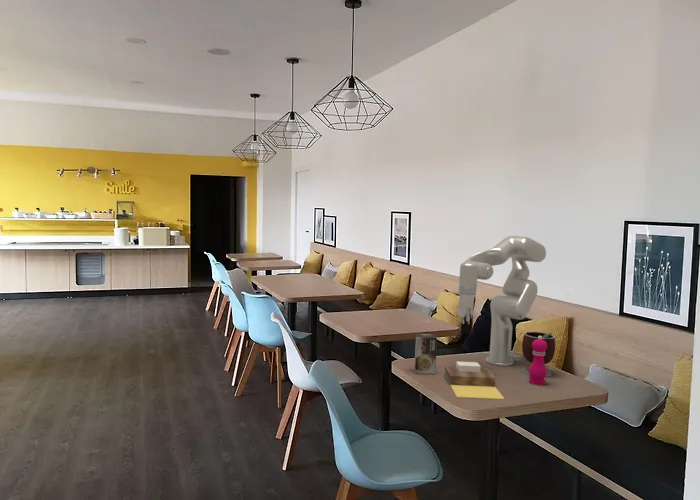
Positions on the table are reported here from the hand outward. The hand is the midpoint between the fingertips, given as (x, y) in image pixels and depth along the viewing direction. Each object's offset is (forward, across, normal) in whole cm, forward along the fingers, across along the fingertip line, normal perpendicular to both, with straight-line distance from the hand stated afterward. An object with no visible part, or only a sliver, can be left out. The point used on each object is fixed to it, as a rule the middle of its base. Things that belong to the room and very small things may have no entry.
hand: (464, 332), depth 240 cm
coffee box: (+18, +2, -16) cm, 24 cm away
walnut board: (+18, +12, 0) cm, 22 cm away
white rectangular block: (+12, +10, 0) cm, 16 cm away
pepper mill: (+18, +10, +30) cm, 36 cm away
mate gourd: (+17, -4, +34) cm, 39 cm away
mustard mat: (+18, +26, 0) cm, 32 cm away
